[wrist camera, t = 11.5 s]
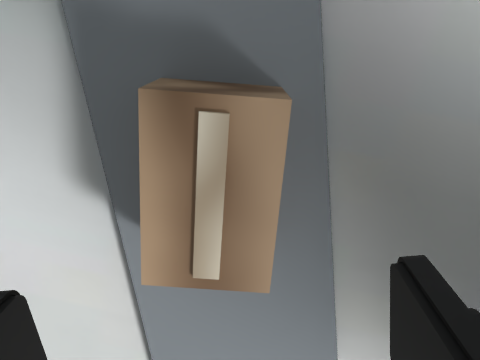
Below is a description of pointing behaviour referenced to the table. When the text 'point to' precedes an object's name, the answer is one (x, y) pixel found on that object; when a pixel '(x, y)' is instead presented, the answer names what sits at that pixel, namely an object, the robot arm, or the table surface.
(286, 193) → the mat
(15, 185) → the table surface
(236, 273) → the card box
